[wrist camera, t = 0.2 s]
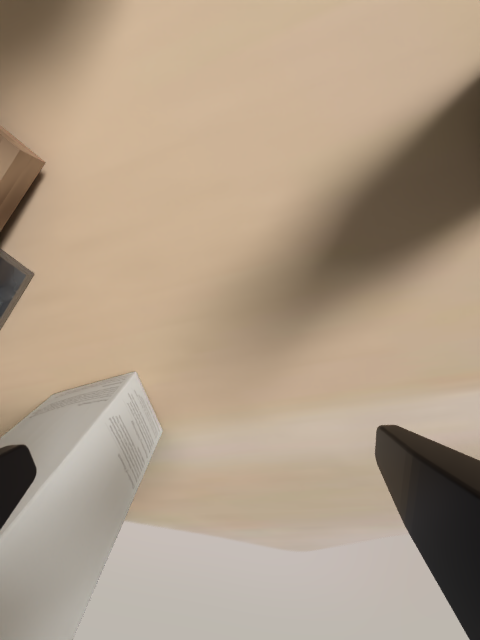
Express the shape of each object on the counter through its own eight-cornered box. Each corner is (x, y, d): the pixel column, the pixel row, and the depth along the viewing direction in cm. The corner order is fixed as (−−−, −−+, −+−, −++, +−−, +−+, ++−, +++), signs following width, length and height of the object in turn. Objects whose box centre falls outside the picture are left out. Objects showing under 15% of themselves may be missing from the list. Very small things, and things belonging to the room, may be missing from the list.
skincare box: (83, 449, 26) (-145, 749, 11) (49, 388, 24) (-284, 651, 9) (168, 429, 25) (44, 730, 10) (139, 364, 23) (-68, 615, 8)
